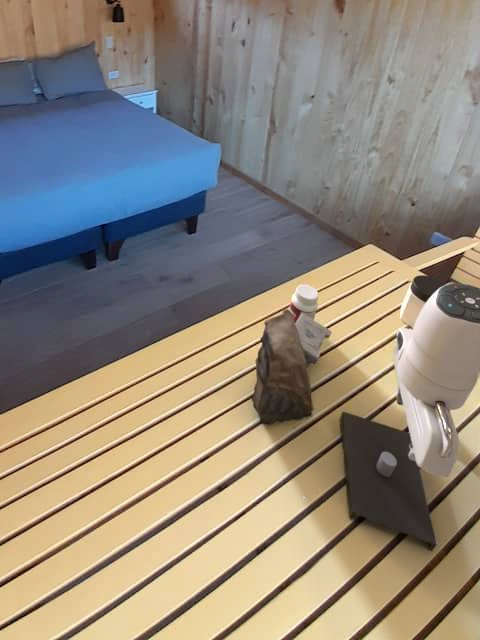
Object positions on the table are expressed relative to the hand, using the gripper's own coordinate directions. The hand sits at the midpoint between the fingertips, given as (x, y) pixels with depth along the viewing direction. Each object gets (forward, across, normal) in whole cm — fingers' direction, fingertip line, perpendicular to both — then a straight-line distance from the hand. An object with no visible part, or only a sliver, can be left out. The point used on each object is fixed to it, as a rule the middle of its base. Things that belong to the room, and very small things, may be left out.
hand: (407, 427), depth 68 cm
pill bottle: (+15, +31, +15) cm, 37 cm away
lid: (+14, -1, +1) cm, 15 cm away
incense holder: (+15, +19, +15) cm, 28 cm away
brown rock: (+14, +7, +19) cm, 25 cm away
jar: (+15, +43, -14) cm, 48 cm away
